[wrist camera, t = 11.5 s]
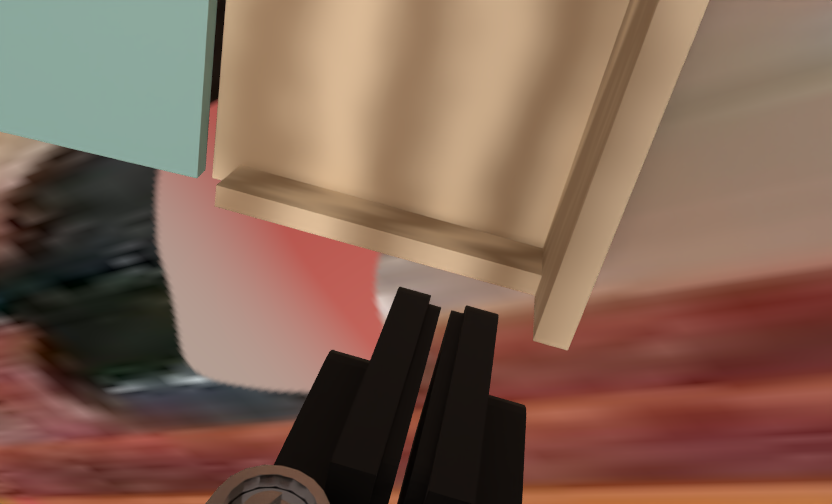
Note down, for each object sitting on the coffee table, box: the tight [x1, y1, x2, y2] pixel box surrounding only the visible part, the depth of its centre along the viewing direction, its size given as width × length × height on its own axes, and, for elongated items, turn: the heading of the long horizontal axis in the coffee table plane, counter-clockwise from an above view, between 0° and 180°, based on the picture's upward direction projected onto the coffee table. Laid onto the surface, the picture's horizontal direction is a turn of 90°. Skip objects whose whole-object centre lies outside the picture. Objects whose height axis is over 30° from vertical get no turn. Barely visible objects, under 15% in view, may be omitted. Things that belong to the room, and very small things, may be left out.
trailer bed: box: [212, 0, 709, 350], centre depth 31 cm, size 20×20×10 cm
